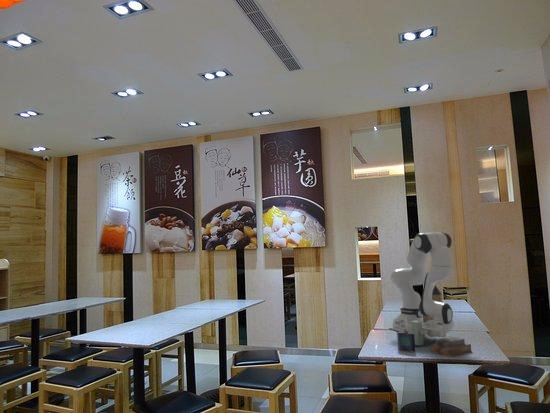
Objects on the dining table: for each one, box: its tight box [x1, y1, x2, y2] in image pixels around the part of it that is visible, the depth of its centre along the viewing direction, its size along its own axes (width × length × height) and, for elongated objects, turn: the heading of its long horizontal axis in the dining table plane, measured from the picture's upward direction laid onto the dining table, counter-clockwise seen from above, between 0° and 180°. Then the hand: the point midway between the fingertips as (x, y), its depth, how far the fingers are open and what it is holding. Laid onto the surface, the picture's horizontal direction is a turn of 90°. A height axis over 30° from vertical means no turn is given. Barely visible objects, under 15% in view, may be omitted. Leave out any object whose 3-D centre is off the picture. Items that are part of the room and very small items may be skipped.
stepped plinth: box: [430, 336, 472, 358], centre depth 205 cm, size 12×16×6 cm
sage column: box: [411, 320, 424, 346], centre depth 219 cm, size 4×4×12 cm
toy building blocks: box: [422, 284, 443, 322], centre depth 281 cm, size 12×19×25 cm, turn 147°
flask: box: [396, 329, 416, 353], centre depth 211 cm, size 9×3×11 cm, turn 48°
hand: (416, 331), depth 219 cm, fingers closed on sage column, 4 cm apart
